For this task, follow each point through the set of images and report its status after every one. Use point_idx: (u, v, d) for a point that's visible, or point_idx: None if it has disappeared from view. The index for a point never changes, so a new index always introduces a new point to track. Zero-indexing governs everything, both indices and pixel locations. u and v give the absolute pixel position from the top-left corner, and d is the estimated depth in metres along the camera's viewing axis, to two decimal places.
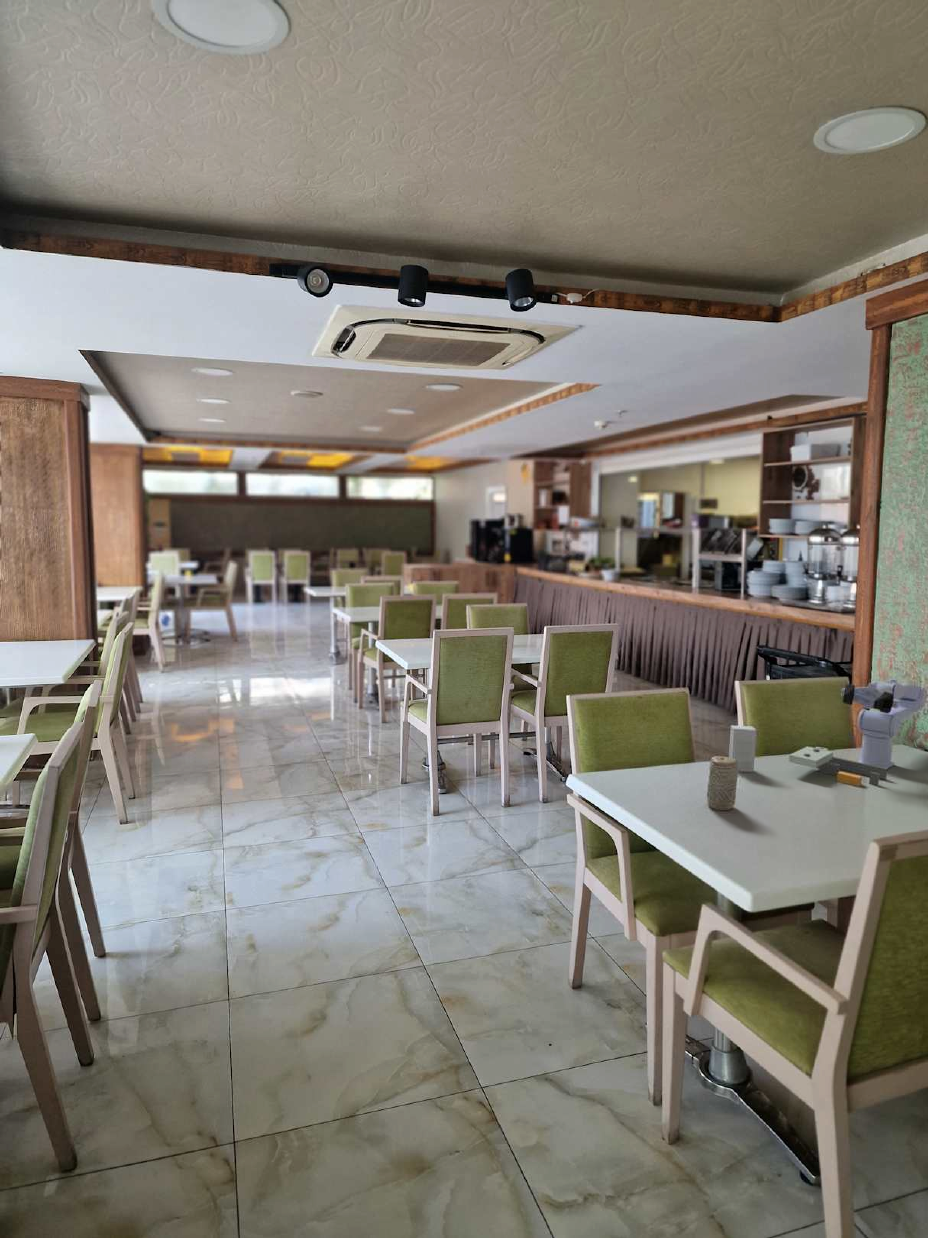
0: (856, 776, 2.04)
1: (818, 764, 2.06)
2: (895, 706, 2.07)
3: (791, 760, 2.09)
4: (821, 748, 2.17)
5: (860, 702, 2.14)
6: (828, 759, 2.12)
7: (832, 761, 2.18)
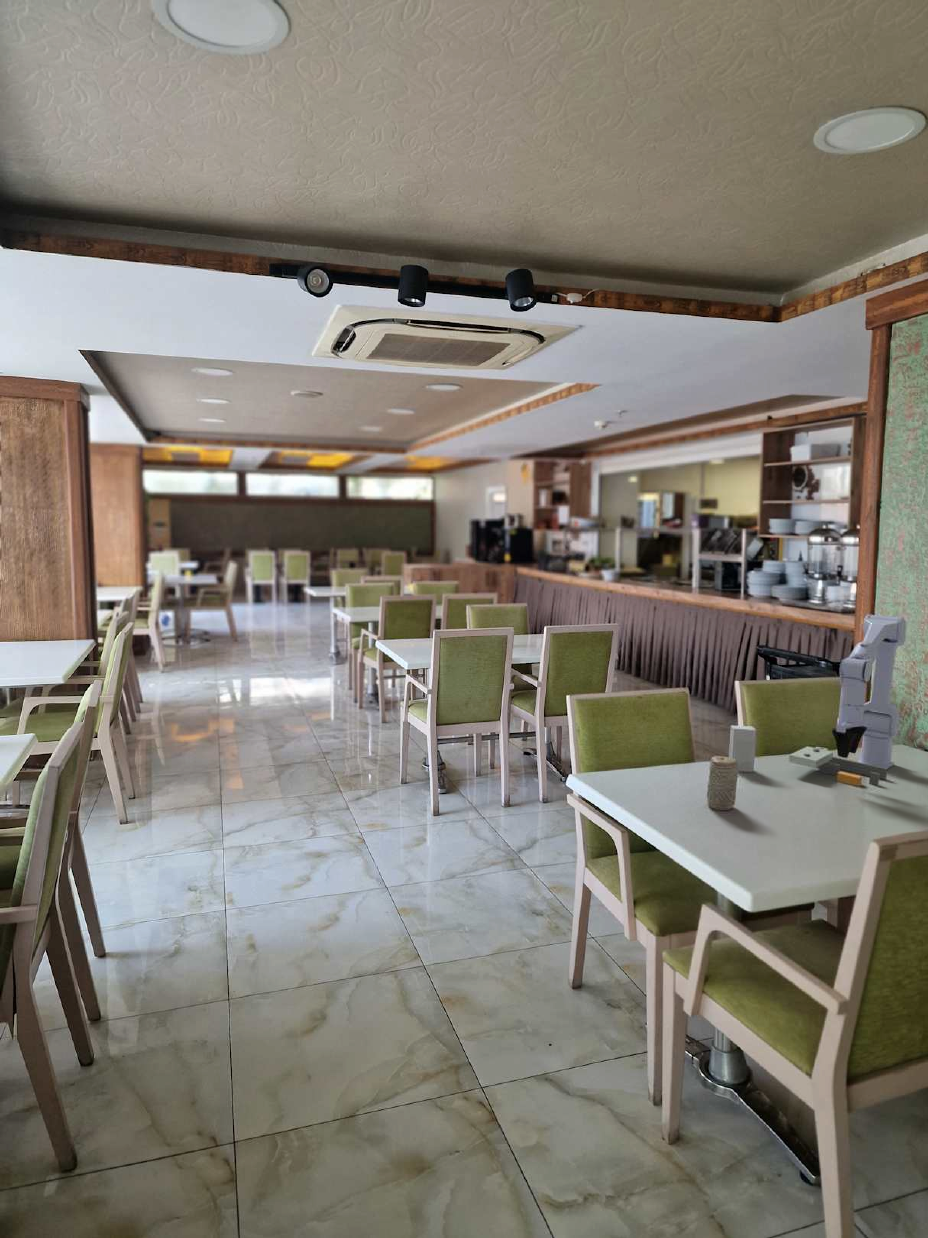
0: (856, 776, 2.04)
1: (818, 764, 2.06)
2: None
3: (791, 760, 2.09)
4: (821, 748, 2.17)
5: None
6: (828, 759, 2.12)
7: (832, 761, 2.18)
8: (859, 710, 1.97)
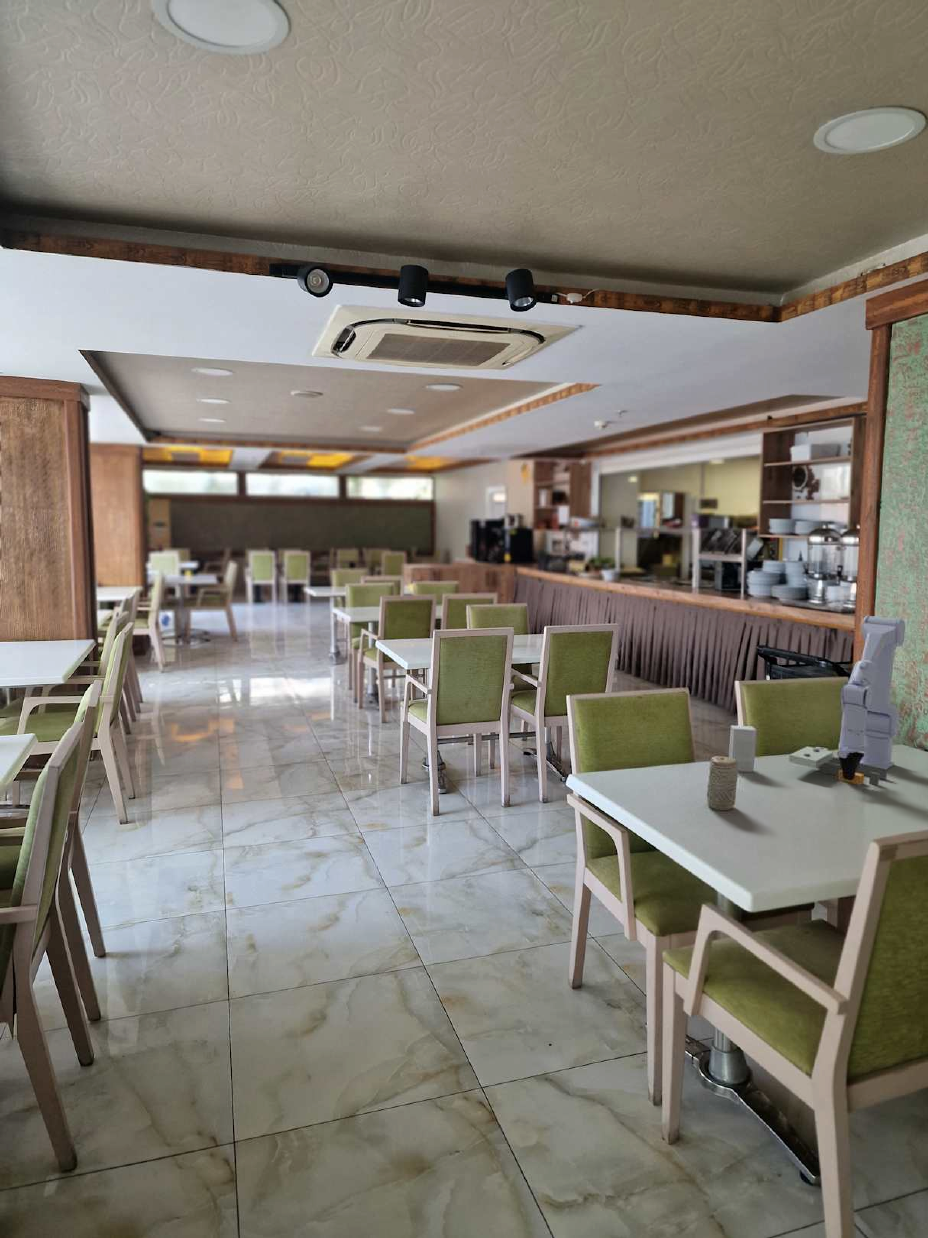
0: (858, 774, 2.05)
1: (818, 764, 2.06)
2: None
3: (791, 760, 2.09)
4: (821, 748, 2.17)
5: None
6: (828, 759, 2.12)
7: (832, 761, 2.18)
8: (860, 736, 2.00)
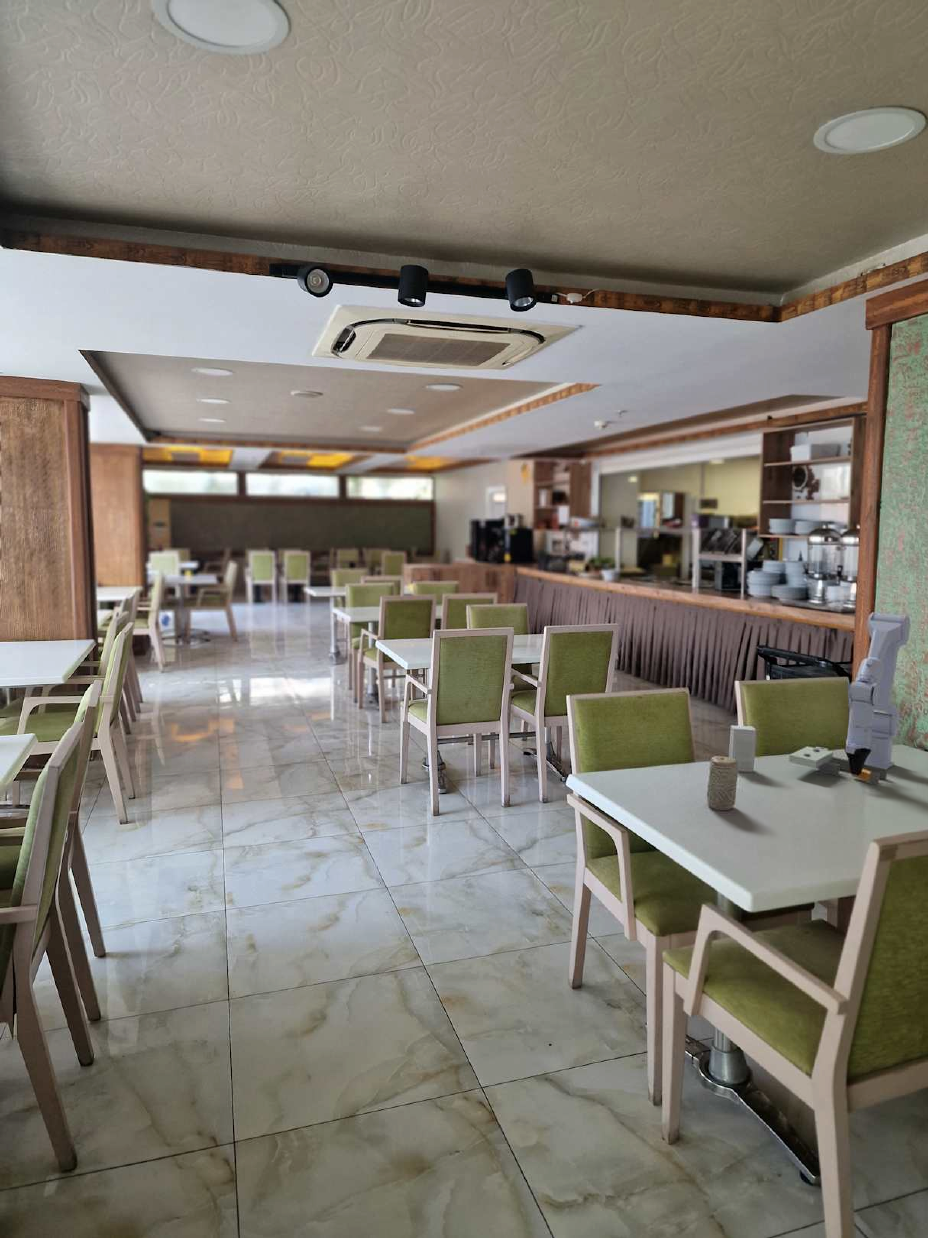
0: (869, 772, 2.08)
1: (818, 764, 2.06)
2: None
3: (791, 760, 2.09)
4: (821, 748, 2.17)
5: None
6: (828, 759, 2.12)
7: (832, 761, 2.18)
8: (868, 732, 2.05)
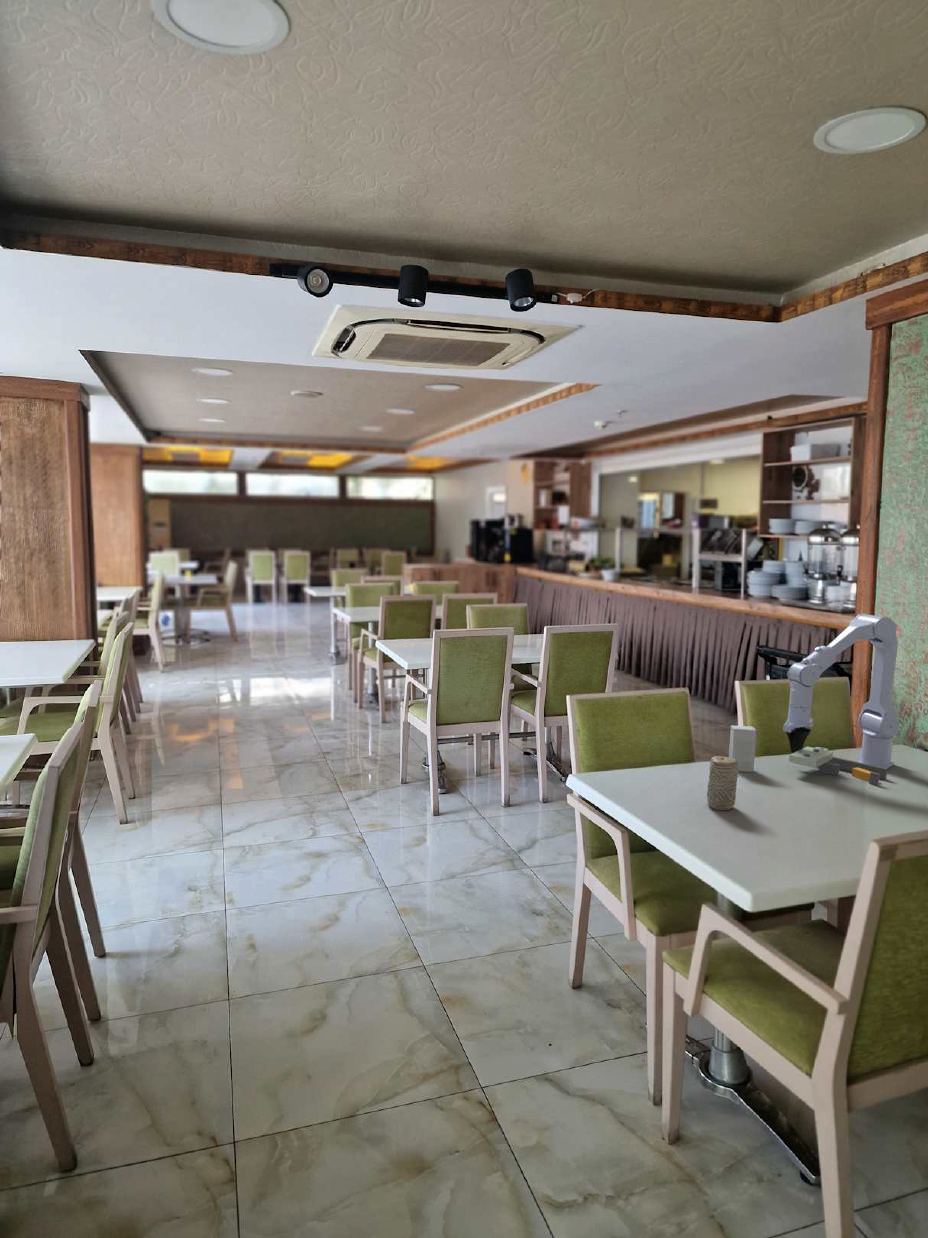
0: (869, 772, 2.08)
1: (818, 764, 2.06)
2: None
3: (791, 760, 2.09)
4: (821, 748, 2.17)
5: None
6: (828, 759, 2.12)
7: (832, 761, 2.18)
8: (806, 712, 2.12)
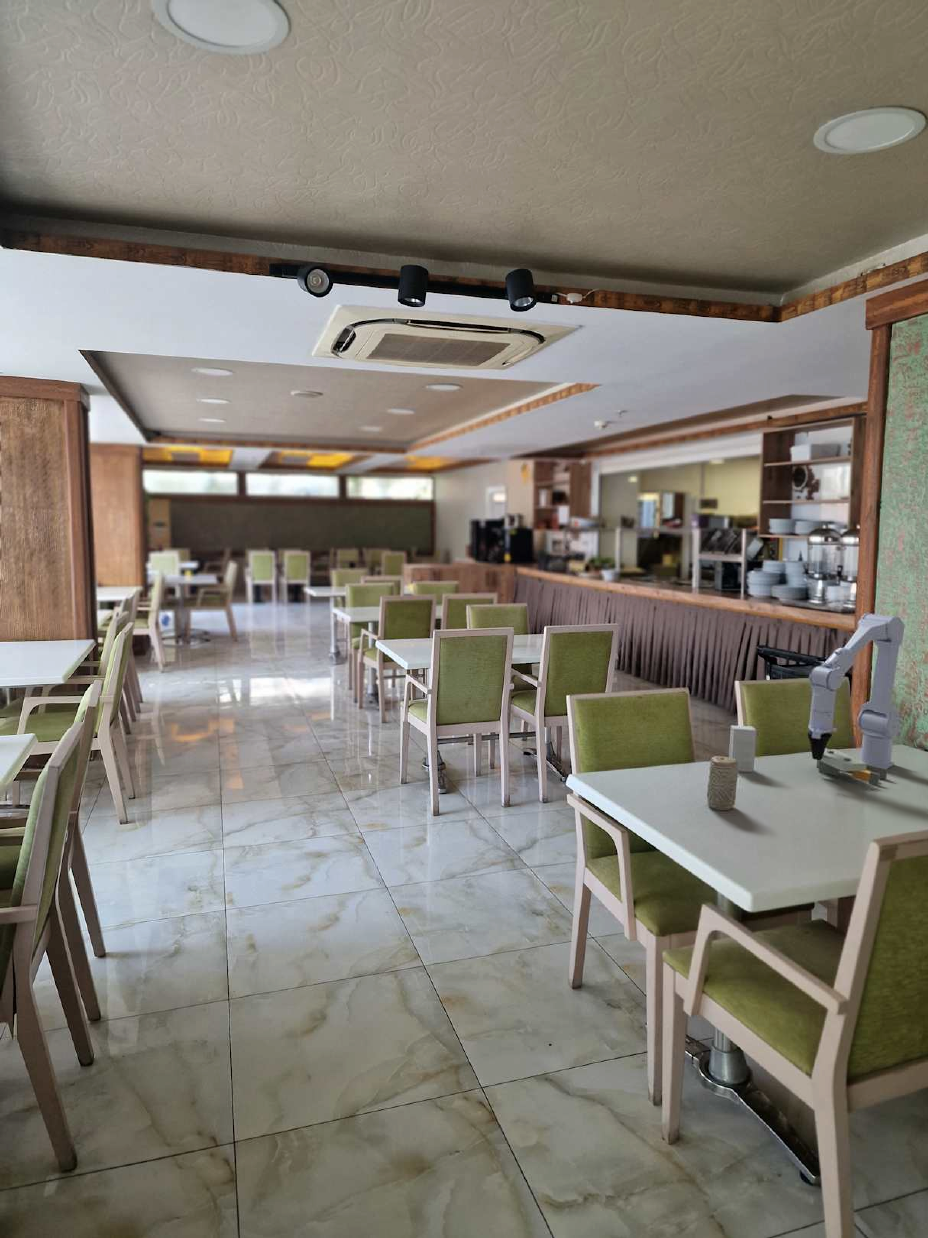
0: (869, 772, 2.08)
1: None
2: None
3: (844, 769, 2.03)
4: None
5: None
6: None
7: None
8: (830, 716, 2.07)
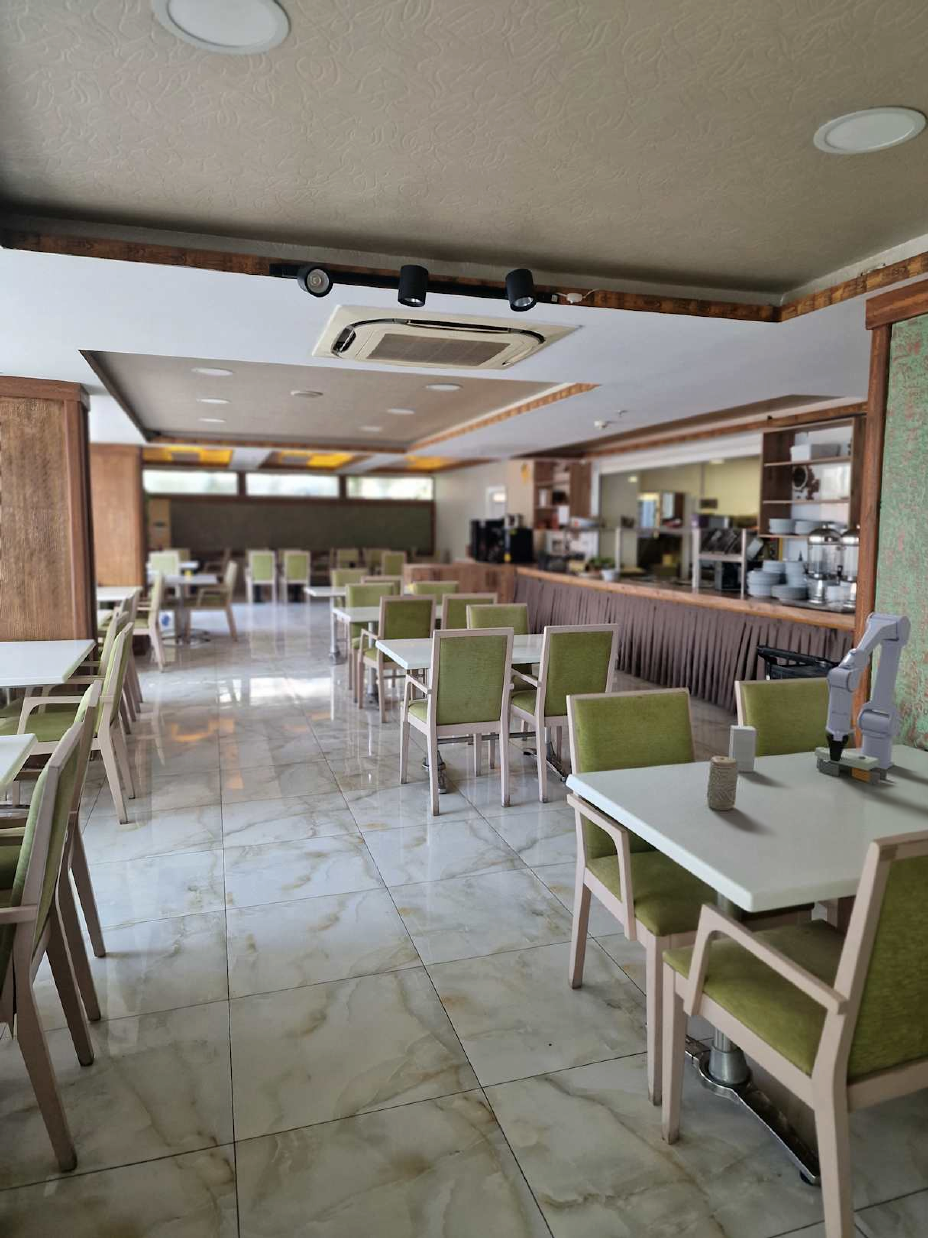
0: (870, 772, 2.08)
1: None
2: None
3: (868, 768, 2.05)
4: (821, 748, 2.17)
5: None
6: None
7: None
8: (849, 718, 2.06)
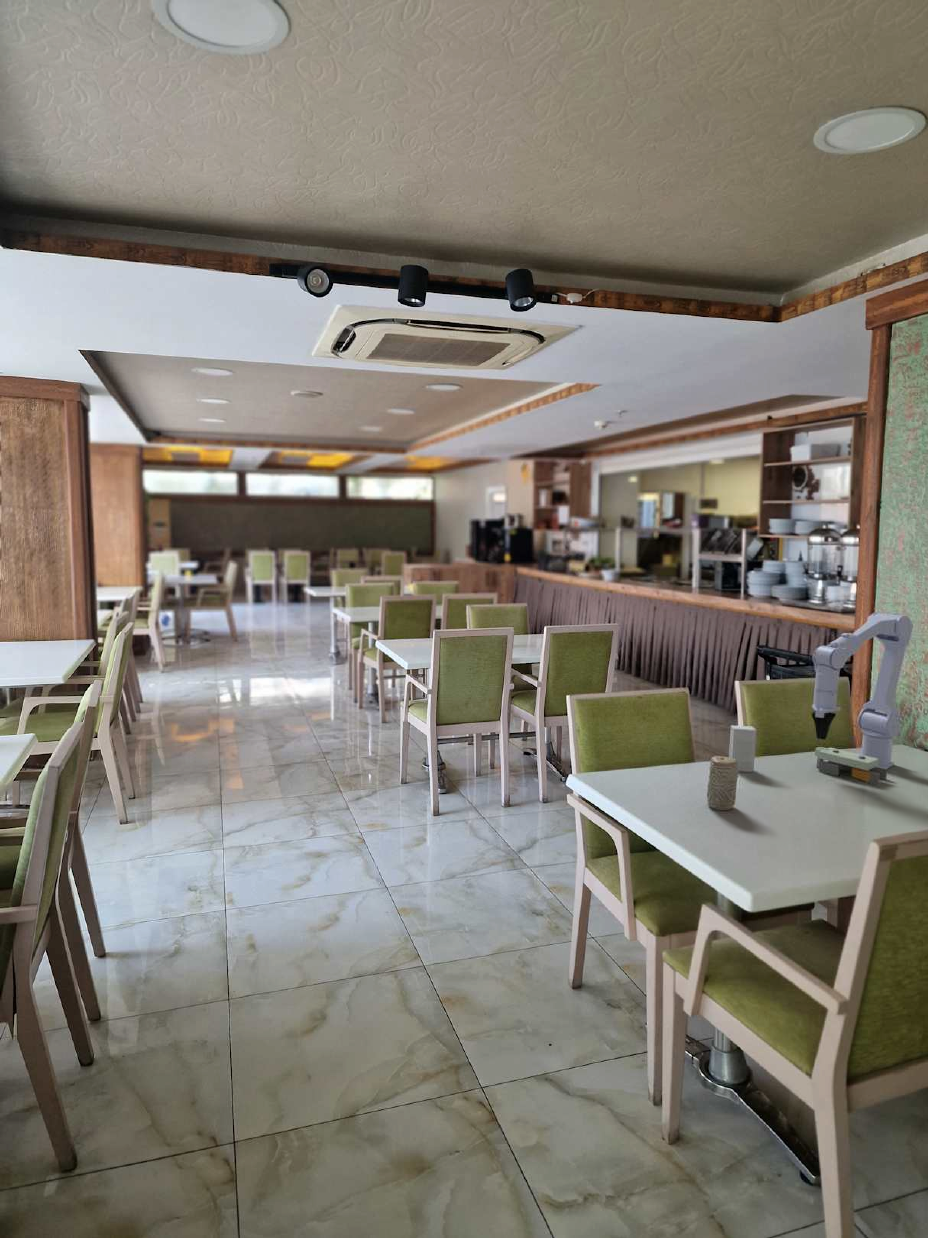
0: (870, 772, 2.08)
1: None
2: None
3: (868, 768, 2.05)
4: (821, 748, 2.17)
5: None
6: None
7: None
8: (834, 696, 2.07)
